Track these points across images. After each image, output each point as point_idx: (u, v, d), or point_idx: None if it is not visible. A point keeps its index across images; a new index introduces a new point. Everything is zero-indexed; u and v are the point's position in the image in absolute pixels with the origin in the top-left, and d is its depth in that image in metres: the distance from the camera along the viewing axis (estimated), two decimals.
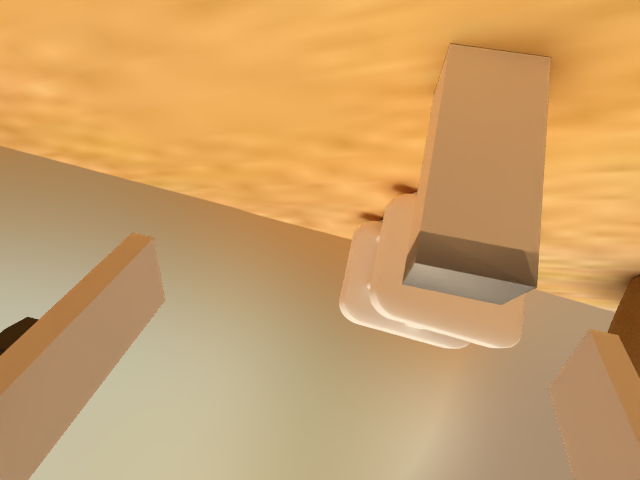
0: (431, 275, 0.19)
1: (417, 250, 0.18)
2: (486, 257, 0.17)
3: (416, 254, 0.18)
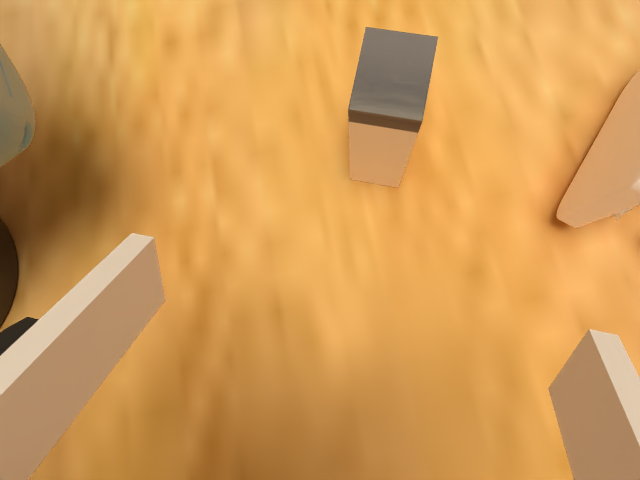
0: (377, 96, 0.22)
1: (349, 113, 0.23)
2: None
3: (350, 112, 0.23)
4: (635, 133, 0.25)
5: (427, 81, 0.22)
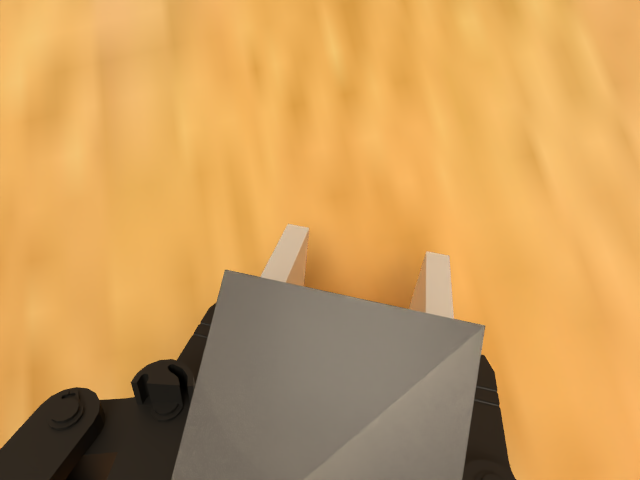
0: None
1: None
2: None
3: None
4: None
5: None
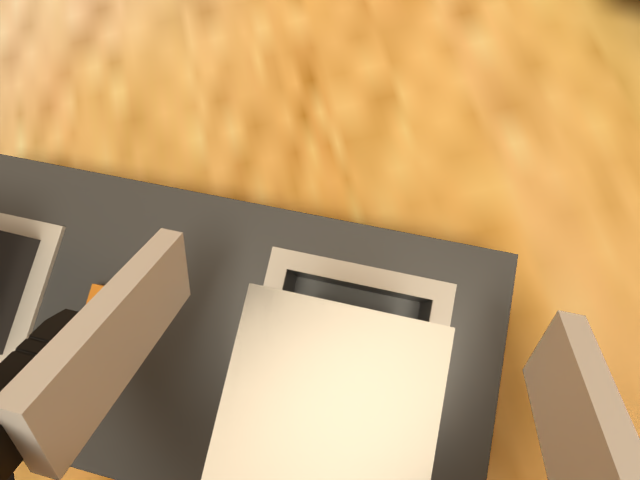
0: None
1: None
2: None
3: None
4: None
5: None
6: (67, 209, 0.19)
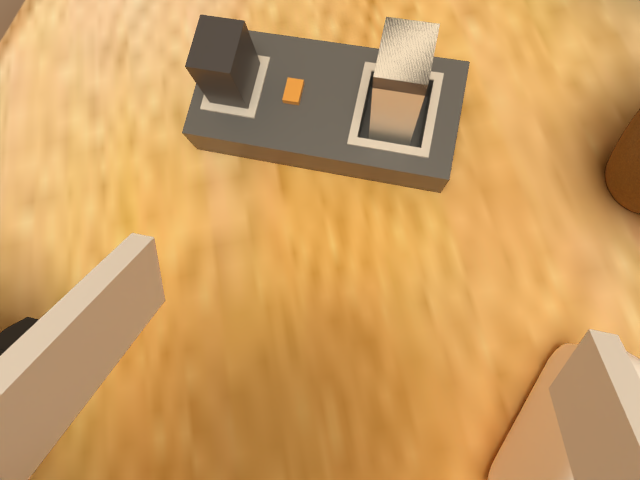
0: (394, 67, 0.30)
1: (373, 80, 0.31)
2: None
3: (374, 79, 0.31)
4: (540, 461, 0.30)
5: (432, 56, 0.30)
6: (270, 51, 0.41)
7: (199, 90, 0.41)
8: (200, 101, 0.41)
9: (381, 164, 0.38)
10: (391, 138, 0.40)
